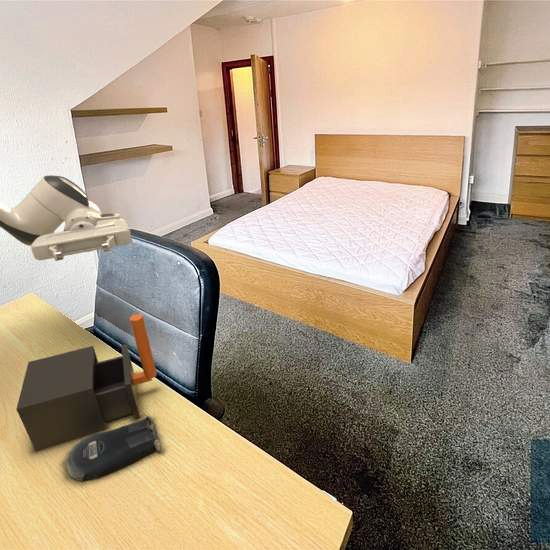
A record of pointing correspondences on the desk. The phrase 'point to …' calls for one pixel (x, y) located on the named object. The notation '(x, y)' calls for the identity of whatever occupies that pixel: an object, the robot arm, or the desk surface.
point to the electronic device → (112, 450)
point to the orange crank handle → (124, 376)
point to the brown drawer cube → (60, 399)
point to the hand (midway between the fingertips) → (82, 252)
